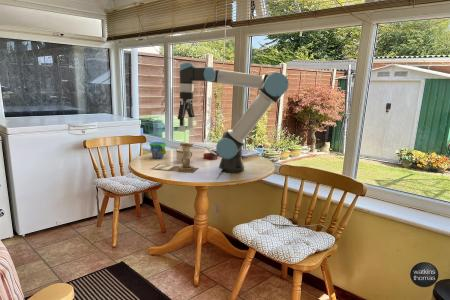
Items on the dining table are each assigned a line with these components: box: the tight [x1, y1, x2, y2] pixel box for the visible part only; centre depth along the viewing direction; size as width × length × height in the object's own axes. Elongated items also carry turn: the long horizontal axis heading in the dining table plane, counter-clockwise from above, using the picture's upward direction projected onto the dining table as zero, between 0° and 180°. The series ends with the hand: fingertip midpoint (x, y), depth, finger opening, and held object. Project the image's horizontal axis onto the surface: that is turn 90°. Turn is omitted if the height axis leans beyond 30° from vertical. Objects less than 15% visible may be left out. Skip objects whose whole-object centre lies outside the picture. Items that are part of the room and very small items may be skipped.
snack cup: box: [149, 141, 167, 159], centre depth 210 cm, size 16×10×10 cm
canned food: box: [203, 146, 218, 161], centre depth 213 cm, size 11×10×10 cm
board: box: [150, 163, 200, 174], centre depth 178 cm, size 26×12×3 cm, turn 78°
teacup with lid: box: [175, 146, 193, 164], centre depth 197 cm, size 12×9×12 cm
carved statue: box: [179, 142, 194, 168], centre depth 175 cm, size 7×4×15 cm, turn 78°
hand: (186, 129), depth 172 cm, fingers open, 13 cm apart
